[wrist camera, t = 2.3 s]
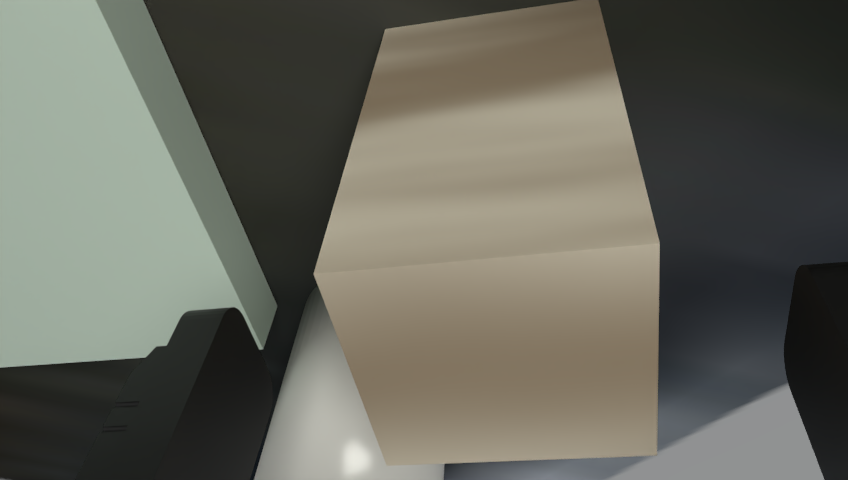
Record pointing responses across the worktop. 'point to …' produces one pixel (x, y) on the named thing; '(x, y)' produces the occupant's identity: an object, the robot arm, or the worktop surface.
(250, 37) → the worktop surface
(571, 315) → the ash block
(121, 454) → the robot arm
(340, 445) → the ceramic jar
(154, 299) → the cutting board
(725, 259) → the worktop surface
